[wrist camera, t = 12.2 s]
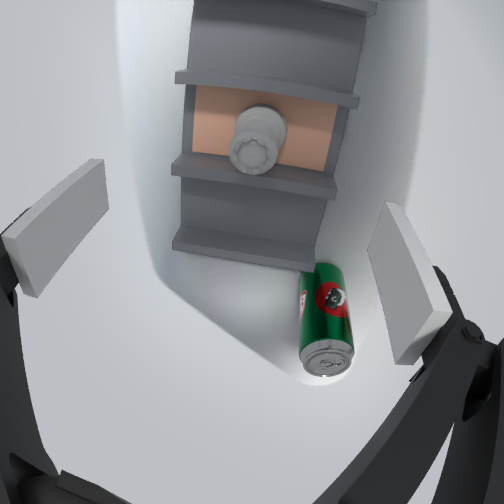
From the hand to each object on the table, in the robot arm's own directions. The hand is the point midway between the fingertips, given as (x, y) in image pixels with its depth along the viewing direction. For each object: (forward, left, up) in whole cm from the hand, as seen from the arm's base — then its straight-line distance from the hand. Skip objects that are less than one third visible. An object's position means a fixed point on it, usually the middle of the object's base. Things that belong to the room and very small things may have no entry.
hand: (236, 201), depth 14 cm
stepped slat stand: (0, 0, -16) cm, 16 cm away
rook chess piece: (0, 0, -15) cm, 15 cm away
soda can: (+16, +9, -16) cm, 24 cm away
